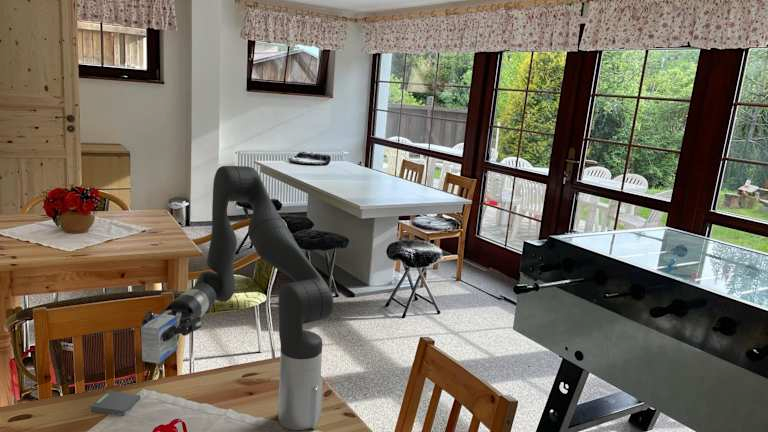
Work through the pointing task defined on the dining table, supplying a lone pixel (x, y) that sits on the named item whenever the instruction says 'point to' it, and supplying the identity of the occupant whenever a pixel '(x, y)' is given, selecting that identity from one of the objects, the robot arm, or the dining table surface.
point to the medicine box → (158, 339)
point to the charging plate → (115, 402)
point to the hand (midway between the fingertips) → (153, 335)
